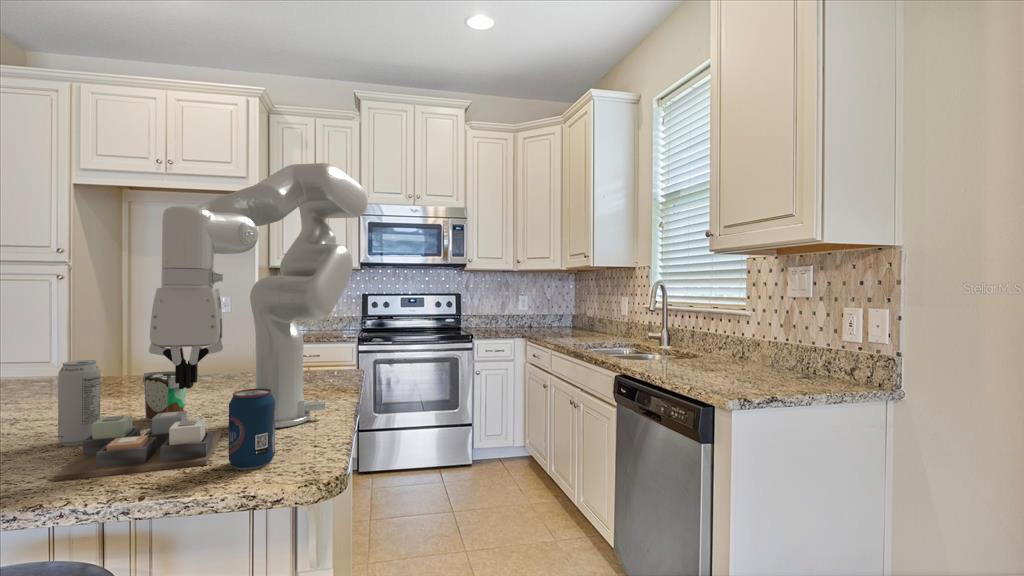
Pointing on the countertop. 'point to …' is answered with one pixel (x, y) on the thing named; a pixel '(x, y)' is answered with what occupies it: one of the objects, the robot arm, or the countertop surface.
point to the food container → (162, 394)
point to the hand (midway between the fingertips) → (186, 387)
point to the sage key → (112, 427)
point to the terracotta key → (127, 443)
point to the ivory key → (187, 432)
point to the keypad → (138, 456)
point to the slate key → (167, 421)
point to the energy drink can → (78, 401)
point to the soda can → (251, 428)
